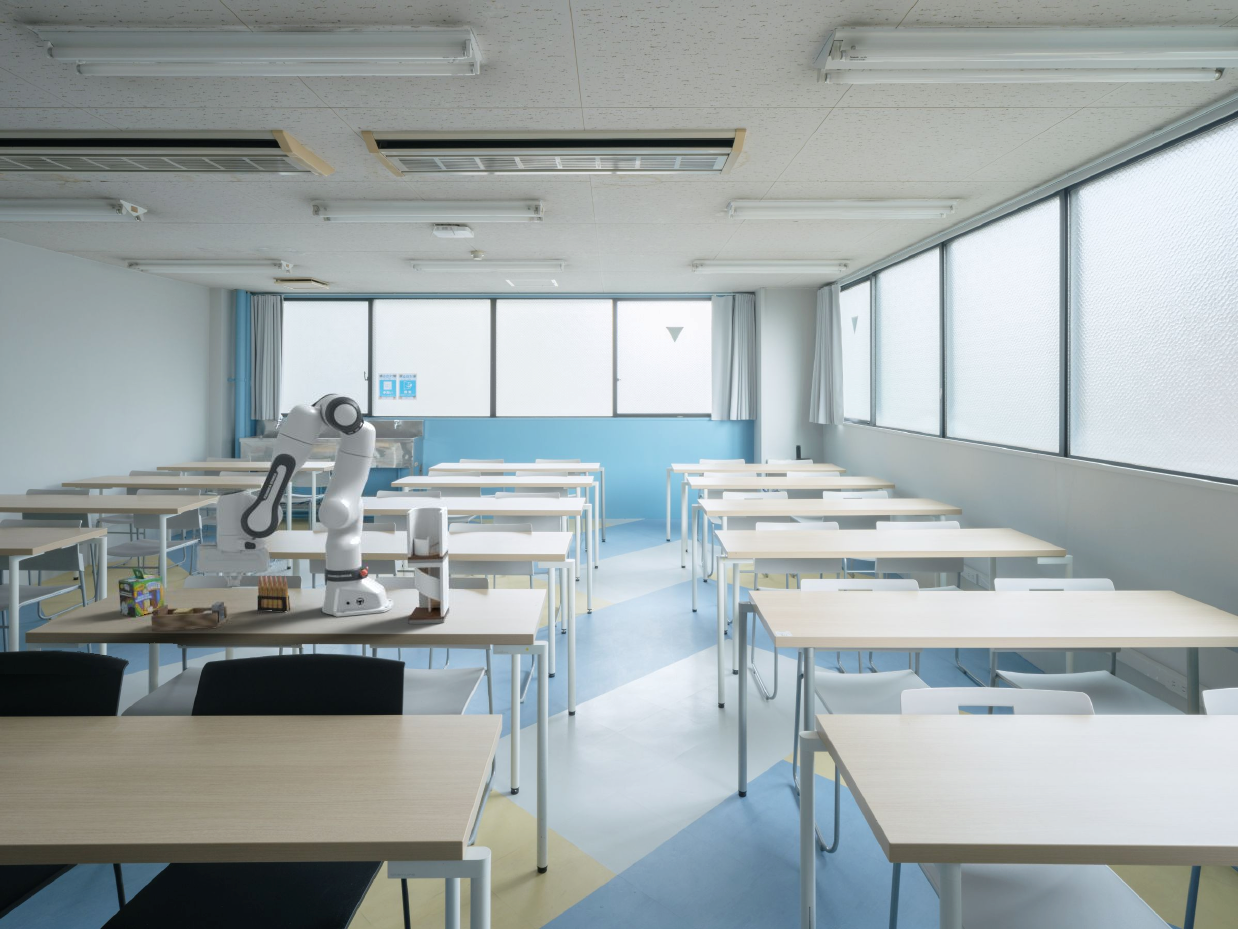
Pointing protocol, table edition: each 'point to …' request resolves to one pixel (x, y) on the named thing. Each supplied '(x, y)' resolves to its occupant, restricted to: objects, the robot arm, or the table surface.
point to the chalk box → (140, 594)
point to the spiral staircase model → (429, 562)
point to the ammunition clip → (273, 594)
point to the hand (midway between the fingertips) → (233, 586)
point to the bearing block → (184, 619)
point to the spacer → (183, 611)
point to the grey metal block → (218, 610)
